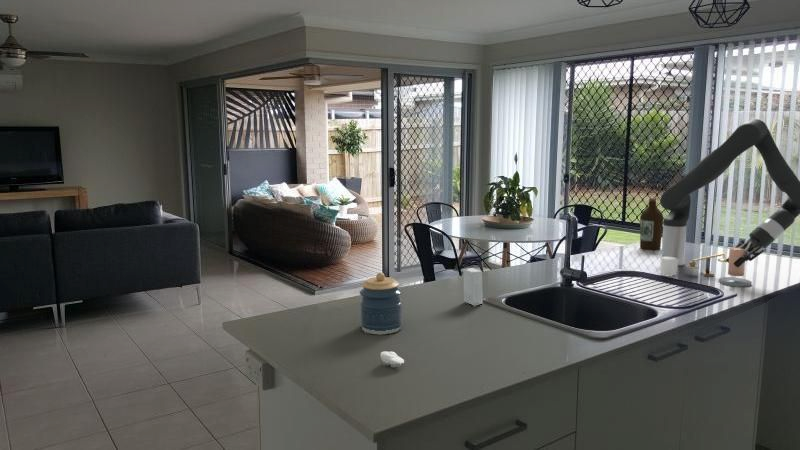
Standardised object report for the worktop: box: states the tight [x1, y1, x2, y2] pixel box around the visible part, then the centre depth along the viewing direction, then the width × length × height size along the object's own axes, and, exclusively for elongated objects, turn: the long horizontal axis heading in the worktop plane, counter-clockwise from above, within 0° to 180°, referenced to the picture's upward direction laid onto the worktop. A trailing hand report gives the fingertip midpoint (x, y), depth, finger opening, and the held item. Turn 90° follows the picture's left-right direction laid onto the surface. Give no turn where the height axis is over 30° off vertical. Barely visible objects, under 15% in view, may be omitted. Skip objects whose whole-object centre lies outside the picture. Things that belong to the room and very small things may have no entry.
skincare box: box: [462, 267, 484, 305], centre depth 205 cm, size 6×4×12 cm
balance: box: [685, 252, 728, 277], centre depth 241 cm, size 5×16×9 cm, turn 78°
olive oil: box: [639, 198, 664, 251], centre depth 295 cm, size 11×11×25 cm
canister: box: [359, 272, 403, 331], centre depth 180 cm, size 13×13×18 cm
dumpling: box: [379, 351, 405, 366], centre depth 152 cm, size 7×5×4 cm
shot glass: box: [659, 256, 679, 276], centre depth 243 cm, size 7×7×7 cm
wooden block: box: [727, 247, 746, 277], centre depth 227 cm, size 5×5×10 cm
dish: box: [718, 276, 752, 288], centre depth 228 cm, size 11×11×1 cm
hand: (731, 263), depth 227 cm, fingers closed on wooden block, 5 cm apart
